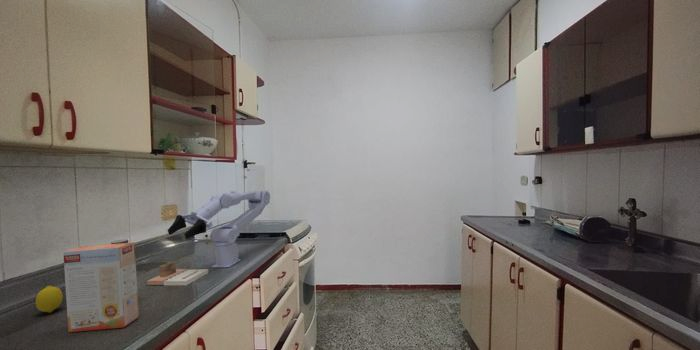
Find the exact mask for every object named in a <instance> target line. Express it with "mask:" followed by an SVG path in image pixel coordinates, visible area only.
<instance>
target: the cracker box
mask: <svg viewBox="0 0 700 350" xmlns="http://www.w3.org/2000/svg"><path fill="white" fill-rule="evenodd" d="M62 253H63V267H64V268H63V269H64V281H65V282H64V284H65V298H66V315H67V327H68V328H67V329H68V333H76V332H87V331H99V330H100V331H101V330H110V329H112V330H113V329H122V328H125V327H127V326H128V325H130V324H131V323H132V322H134V321H136V319H138V318H139V317H140V310H139V309H140V308H139V293H138V282H137V281H138V279H137V265H136V248H135V242H128V243H120V244H111V243H108V244H106V243H105V244H95V245H84V246H83V245H82V246H77V247H74V248H72V249H71V248H70V249H67V250H64V251H63V252H62Z"/></svg>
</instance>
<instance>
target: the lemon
mask: <svg viewBox="0 0 700 350" xmlns="http://www.w3.org/2000/svg"><path fill="white" fill-rule="evenodd" d="M63 297H64V295H63V292H62V290H61V289H60V288H59V287H57V286H54V285H53V286H52V285H47V286H46V287H44V288H43V289H41V290H40V291H39V292H38V293H37V295H36V297H35V306H36V309H37V310H39V311H41V312H44V313H45V312H46V313H48V314H50V313H52V312H53V311H54V310H56V309H57V308H59V307H60V305H61V304H62V302H63Z"/></svg>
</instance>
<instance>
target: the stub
mask: <svg viewBox="0 0 700 350" xmlns="http://www.w3.org/2000/svg"><path fill="white" fill-rule="evenodd" d="M176 266H177V265H176V261H169V262H166V263H164V264H162V265H159V266H158V269H159V275H157V276H154V277H152V278H151V279H148V280H147V281H146V282H147V286H162V285H163V286H165V285H164V281H165V280H167V279H169V278H171V277H173V276H175V275H177V274H179V273H182V272H184V271H186V270H188V269H187V268H176Z"/></svg>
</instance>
